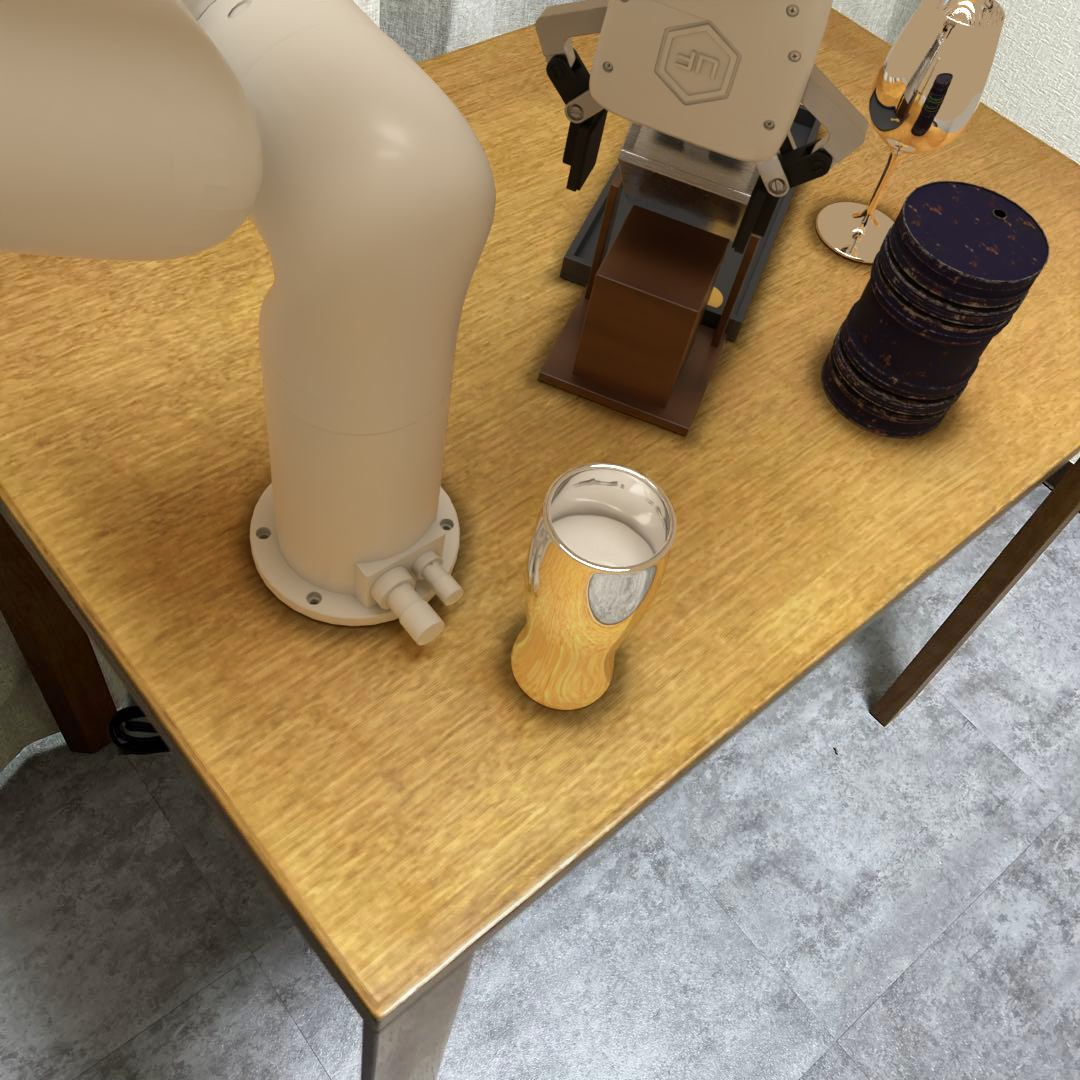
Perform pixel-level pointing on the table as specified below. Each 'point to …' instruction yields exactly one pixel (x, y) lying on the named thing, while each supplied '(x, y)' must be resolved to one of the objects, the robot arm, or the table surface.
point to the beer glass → (589, 579)
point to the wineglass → (919, 105)
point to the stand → (646, 318)
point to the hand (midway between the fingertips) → (661, 207)
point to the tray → (586, 240)
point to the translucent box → (685, 181)
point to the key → (715, 298)
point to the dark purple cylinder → (932, 306)
